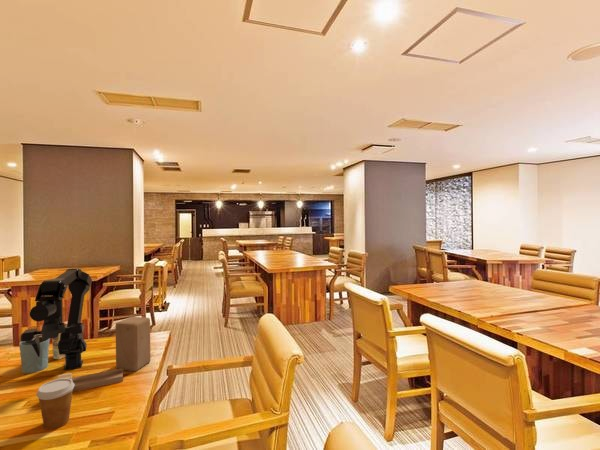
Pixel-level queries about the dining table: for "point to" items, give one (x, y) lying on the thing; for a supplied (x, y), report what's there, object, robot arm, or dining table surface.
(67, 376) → the block
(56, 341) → the candy box
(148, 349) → the wooden block
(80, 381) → the walnut board
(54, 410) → the disposable coffee cup
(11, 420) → the dining table surface
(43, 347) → the grey embossed cup
